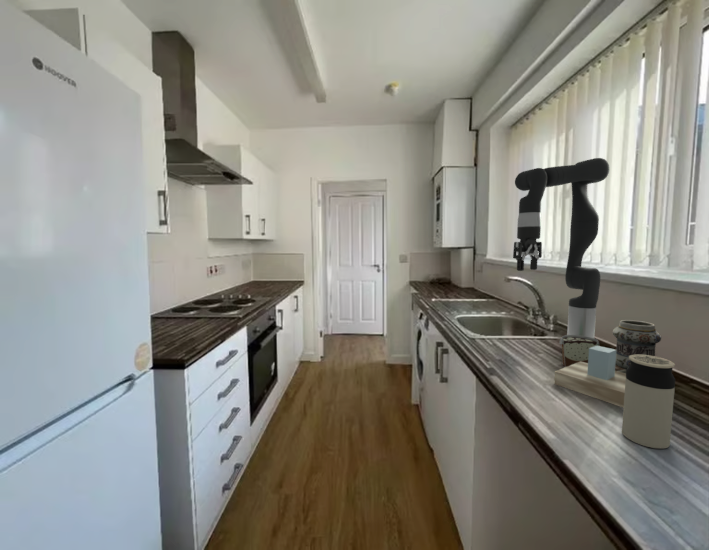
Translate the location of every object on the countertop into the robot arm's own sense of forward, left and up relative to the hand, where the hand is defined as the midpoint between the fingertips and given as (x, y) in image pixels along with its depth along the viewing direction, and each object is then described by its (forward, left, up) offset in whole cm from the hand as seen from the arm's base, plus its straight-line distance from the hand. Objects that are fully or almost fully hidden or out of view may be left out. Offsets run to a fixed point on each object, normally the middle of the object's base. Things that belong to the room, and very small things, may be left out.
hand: (527, 270), depth 123 cm
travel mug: (+28, +45, -33) cm, 63 cm away
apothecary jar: (-11, +30, -33) cm, 46 cm away
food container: (-8, +14, -33) cm, 37 cm away
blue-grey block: (+7, +28, -29) cm, 41 cm away
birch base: (+7, +28, -33) cm, 44 cm away
